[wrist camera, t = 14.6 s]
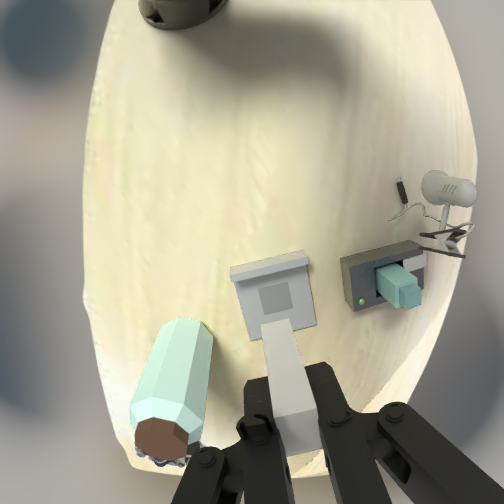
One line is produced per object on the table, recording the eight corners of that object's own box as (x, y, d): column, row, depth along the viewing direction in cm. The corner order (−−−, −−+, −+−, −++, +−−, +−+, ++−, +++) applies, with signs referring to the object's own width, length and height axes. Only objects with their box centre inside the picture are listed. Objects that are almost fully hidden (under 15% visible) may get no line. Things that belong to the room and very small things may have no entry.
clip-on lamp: (406, 235, 48) (470, 268, 31) (377, 230, 48) (438, 263, 31) (418, 171, 45) (489, 180, 28) (389, 162, 45) (457, 166, 27)
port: (339, 258, 49) (349, 267, 44) (412, 238, 49) (426, 245, 44) (345, 300, 51) (354, 312, 47) (414, 278, 51) (427, 288, 46)
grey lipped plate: (230, 267, 48) (229, 275, 45) (302, 250, 48) (307, 256, 45) (250, 338, 52) (251, 350, 49) (315, 322, 52) (320, 333, 49)
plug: (368, 263, 49) (401, 291, 37) (388, 257, 49) (424, 282, 37) (370, 284, 50) (401, 315, 38) (389, 278, 50) (423, 307, 38)
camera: (203, 427, 59) (200, 460, 50) (200, 446, 61) (197, 477, 52) (137, 414, 58) (127, 445, 48) (139, 434, 60) (130, 464, 50)
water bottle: (169, 361, 53) (139, 466, 29) (153, 316, 50) (105, 418, 26) (219, 355, 53) (212, 466, 29) (207, 309, 50) (188, 418, 26)
